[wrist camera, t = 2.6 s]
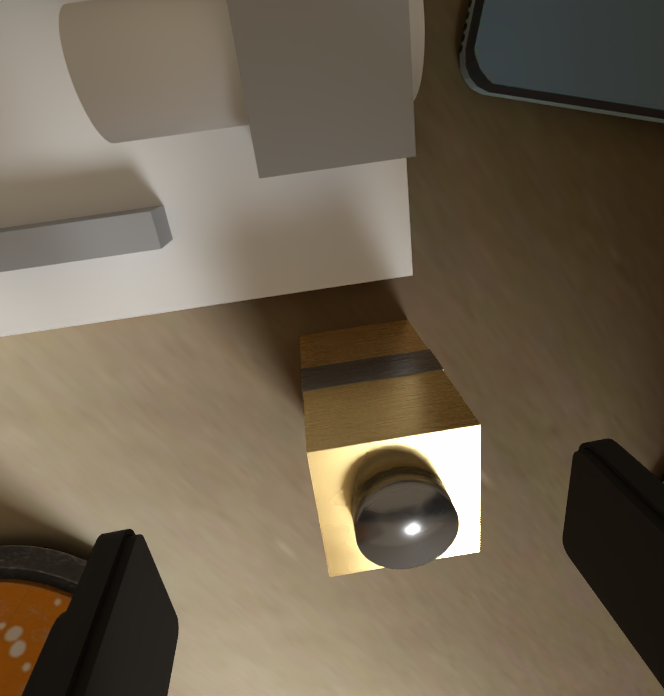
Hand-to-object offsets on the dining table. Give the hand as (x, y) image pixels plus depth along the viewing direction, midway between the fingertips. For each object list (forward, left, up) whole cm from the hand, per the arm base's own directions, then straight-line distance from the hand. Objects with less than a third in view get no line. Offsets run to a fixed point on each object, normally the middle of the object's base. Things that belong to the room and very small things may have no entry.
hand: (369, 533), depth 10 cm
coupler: (-1, 0, -8) cm, 8 cm away
